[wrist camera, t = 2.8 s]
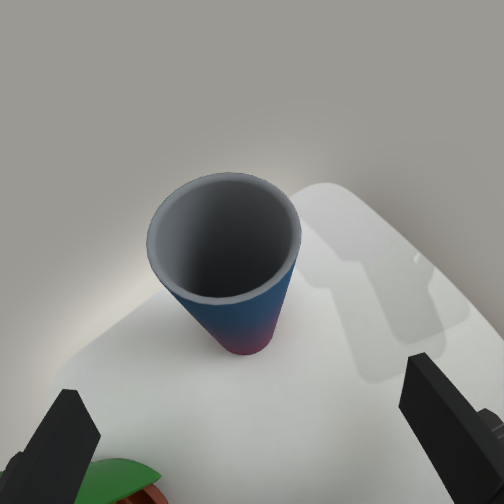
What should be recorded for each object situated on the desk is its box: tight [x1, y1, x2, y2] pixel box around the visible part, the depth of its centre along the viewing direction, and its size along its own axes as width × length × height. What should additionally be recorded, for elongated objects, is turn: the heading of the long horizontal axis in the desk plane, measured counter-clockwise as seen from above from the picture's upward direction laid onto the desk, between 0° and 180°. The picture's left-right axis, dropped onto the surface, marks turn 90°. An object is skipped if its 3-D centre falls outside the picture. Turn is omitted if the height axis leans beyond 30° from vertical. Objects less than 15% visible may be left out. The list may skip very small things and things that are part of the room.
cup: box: [146, 172, 301, 355], centre depth 20 cm, size 7×7×15 cm
